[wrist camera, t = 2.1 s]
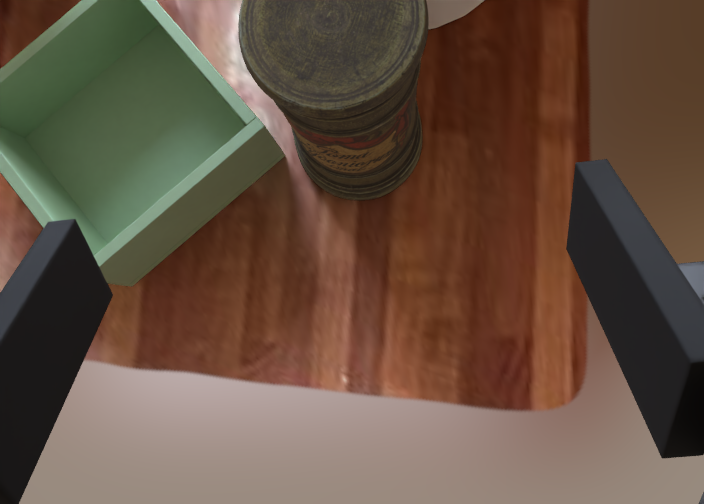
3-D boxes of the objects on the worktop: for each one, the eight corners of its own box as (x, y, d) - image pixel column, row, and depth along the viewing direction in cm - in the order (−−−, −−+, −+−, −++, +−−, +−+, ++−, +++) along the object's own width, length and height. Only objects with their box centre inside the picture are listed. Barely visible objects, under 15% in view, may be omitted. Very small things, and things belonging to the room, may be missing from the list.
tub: (17, 140, 46) (-49, 109, 40) (164, 15, 47) (124, -37, 40) (132, 287, 44) (83, 280, 38) (285, 155, 45) (264, 126, 38)
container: (296, 84, 45) (226, -72, 27) (419, 77, 44) (429, -89, 27) (298, 205, 44) (227, 124, 26) (424, 199, 43) (439, 112, 26)
